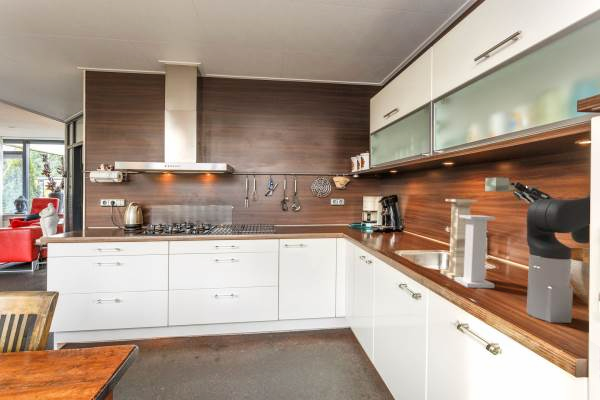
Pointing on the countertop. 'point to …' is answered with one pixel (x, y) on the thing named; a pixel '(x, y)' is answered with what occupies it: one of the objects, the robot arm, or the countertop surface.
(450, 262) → the beige wooden post
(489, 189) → the mallet
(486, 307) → the countertop surface
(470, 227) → the white pedestal stand
